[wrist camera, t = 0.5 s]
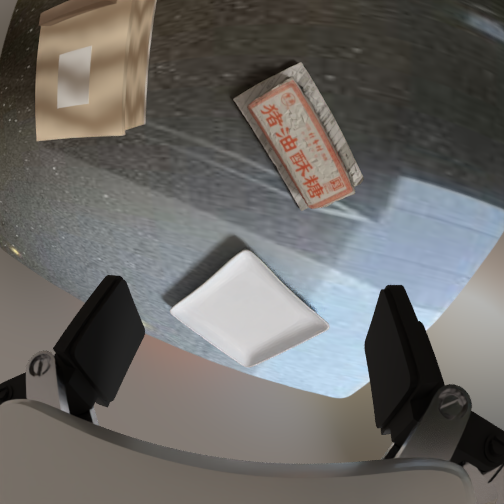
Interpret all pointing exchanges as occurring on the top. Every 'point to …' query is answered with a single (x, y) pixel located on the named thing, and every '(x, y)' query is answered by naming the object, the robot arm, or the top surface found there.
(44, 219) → the top surface
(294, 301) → the salad plate
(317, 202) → the packaged product
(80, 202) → the top surface
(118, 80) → the lid
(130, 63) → the mailer box
